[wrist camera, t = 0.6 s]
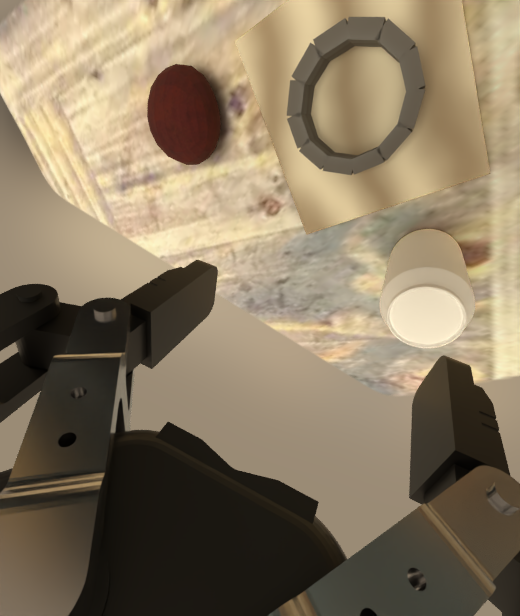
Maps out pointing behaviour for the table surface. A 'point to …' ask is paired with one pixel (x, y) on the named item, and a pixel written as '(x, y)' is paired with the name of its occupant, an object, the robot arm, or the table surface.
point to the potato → (184, 114)
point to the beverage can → (427, 290)
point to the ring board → (366, 102)
